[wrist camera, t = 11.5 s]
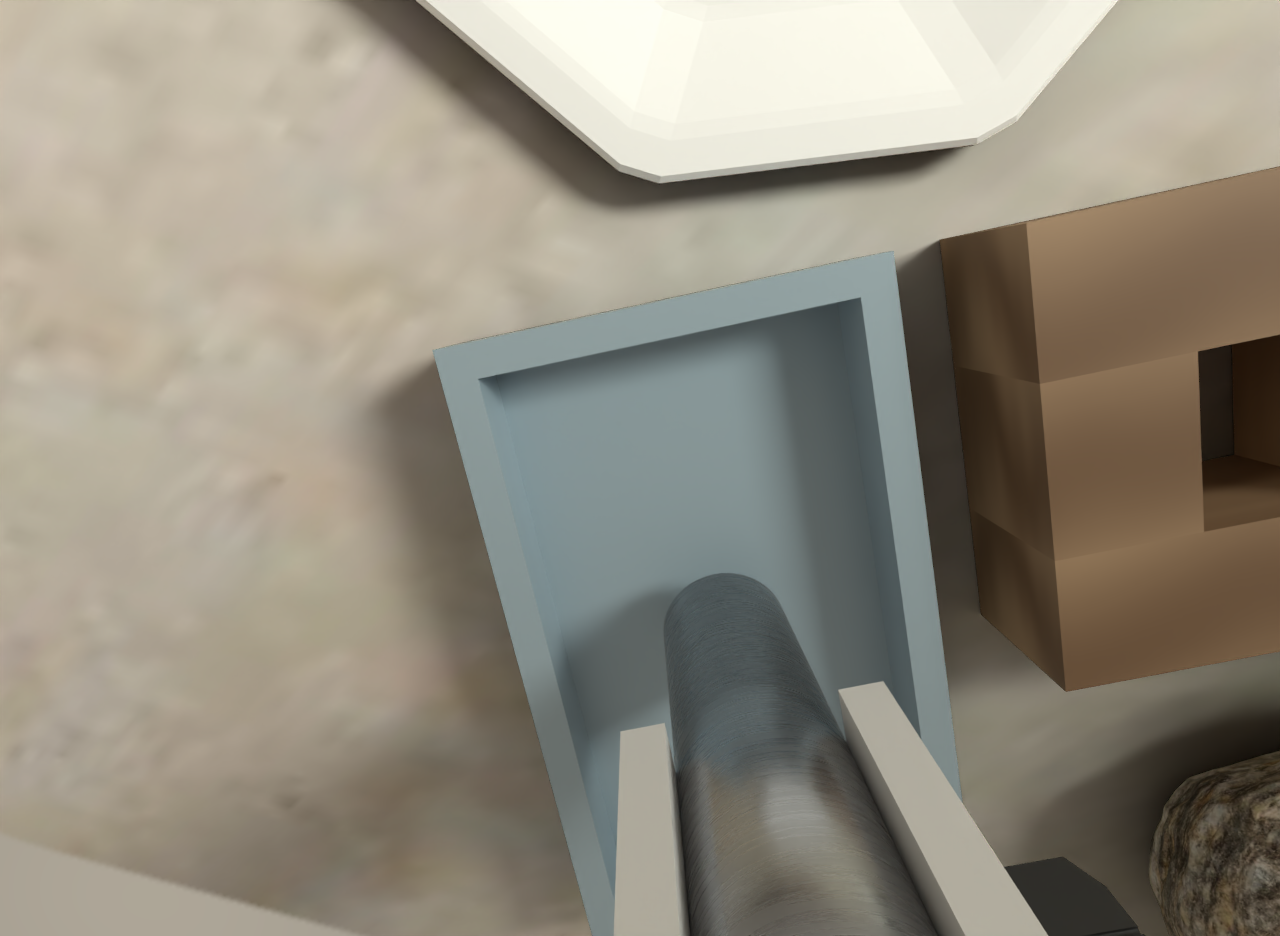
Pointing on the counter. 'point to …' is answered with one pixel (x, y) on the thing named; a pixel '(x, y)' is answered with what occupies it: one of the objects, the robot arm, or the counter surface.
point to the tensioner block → (1123, 429)
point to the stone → (1221, 852)
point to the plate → (773, 74)
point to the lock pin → (771, 782)
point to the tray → (699, 508)
